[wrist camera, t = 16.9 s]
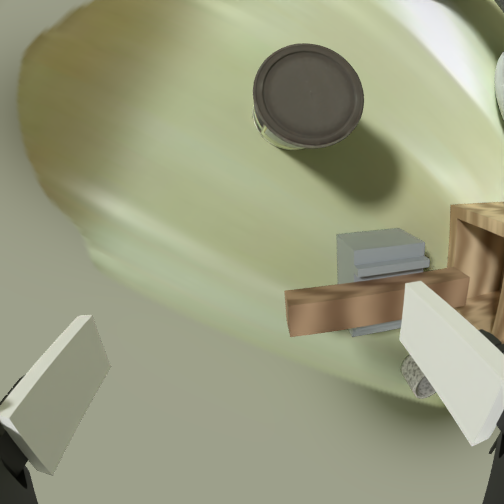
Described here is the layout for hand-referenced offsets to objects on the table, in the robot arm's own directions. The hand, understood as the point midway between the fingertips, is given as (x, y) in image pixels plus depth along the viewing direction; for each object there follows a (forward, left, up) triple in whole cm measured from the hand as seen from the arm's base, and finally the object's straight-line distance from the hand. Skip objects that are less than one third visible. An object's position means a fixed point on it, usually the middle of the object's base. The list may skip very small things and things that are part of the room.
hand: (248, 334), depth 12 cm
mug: (-10, +42, -32) cm, 54 cm away
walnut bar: (-8, +17, -24) cm, 30 cm away
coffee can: (-12, -7, -32) cm, 35 cm away
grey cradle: (-9, +18, -32) cm, 38 cm away
